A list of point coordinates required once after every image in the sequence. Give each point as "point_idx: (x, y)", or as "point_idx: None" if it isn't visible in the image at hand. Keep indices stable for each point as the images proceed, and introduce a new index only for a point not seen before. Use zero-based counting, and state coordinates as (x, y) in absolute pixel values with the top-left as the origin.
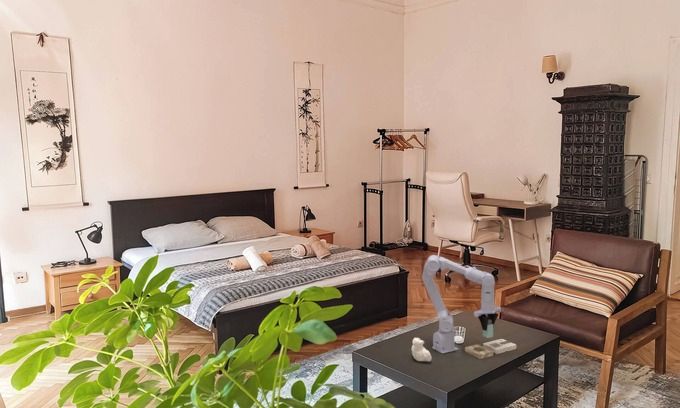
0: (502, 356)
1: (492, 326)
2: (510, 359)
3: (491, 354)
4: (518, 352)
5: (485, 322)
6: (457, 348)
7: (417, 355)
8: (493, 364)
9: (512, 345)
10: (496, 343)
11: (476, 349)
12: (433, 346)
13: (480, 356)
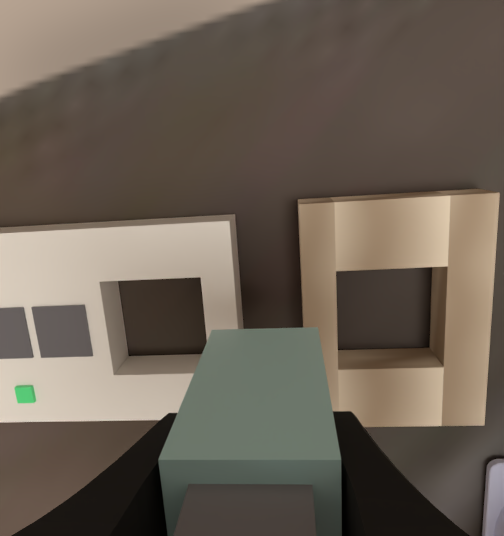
0: (223, 141)
1: (192, 423)
2: (201, 35)
3: (320, 200)
4: (14, 149)
5: (457, 531)
6: (498, 472)
7: None
8: (459, 6)
9: (1, 239)
10: (114, 363)
11: (377, 359)
12: None
13: (487, 190)
